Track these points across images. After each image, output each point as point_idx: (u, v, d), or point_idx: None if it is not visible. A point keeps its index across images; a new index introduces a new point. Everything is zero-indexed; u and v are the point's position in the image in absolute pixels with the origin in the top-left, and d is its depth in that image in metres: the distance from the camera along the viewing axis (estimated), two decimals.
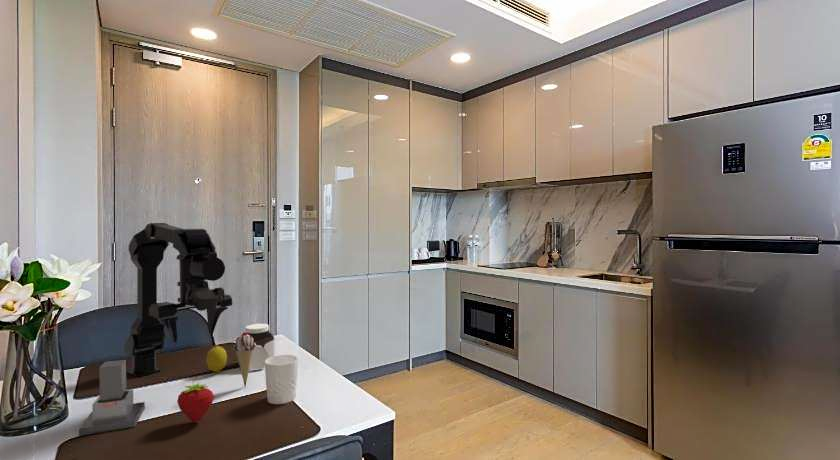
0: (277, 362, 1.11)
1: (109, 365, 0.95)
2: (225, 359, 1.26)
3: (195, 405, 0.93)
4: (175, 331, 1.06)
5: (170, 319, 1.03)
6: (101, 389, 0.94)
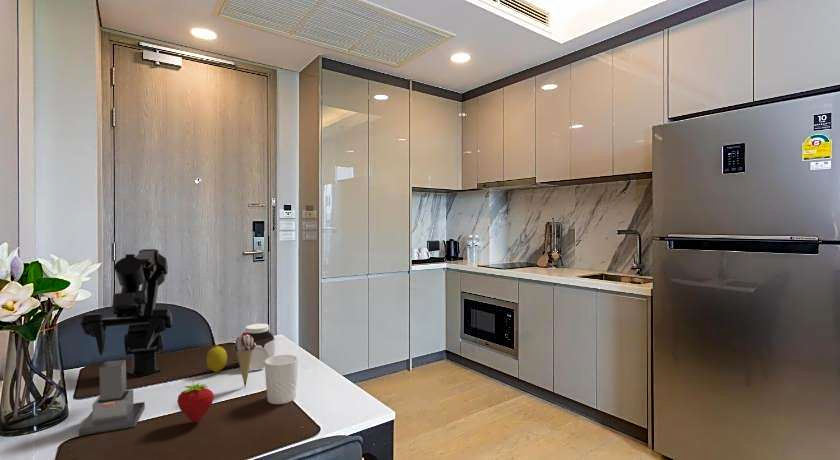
0: (277, 362, 1.11)
1: (109, 365, 0.95)
2: (225, 359, 1.26)
3: (195, 405, 0.93)
4: (100, 340, 1.03)
5: (92, 325, 1.03)
6: (101, 389, 0.94)
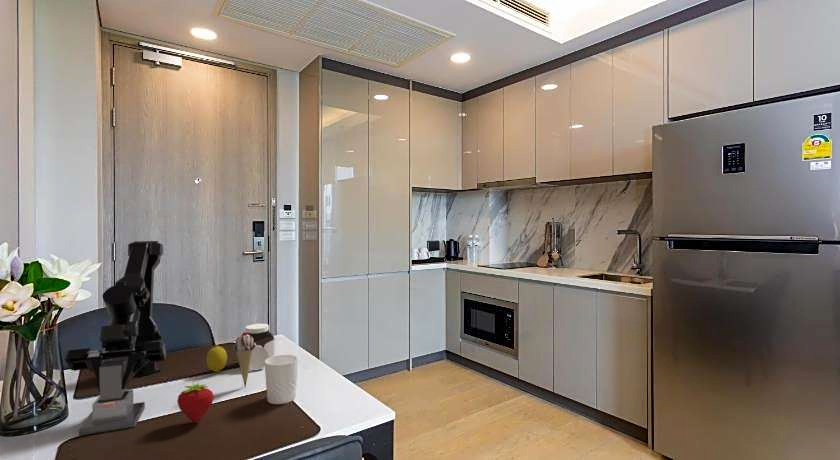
0: (277, 362, 1.11)
1: (109, 365, 0.95)
2: (225, 359, 1.26)
3: (195, 405, 0.93)
4: (99, 376, 0.95)
5: (90, 359, 0.96)
6: (101, 389, 0.94)
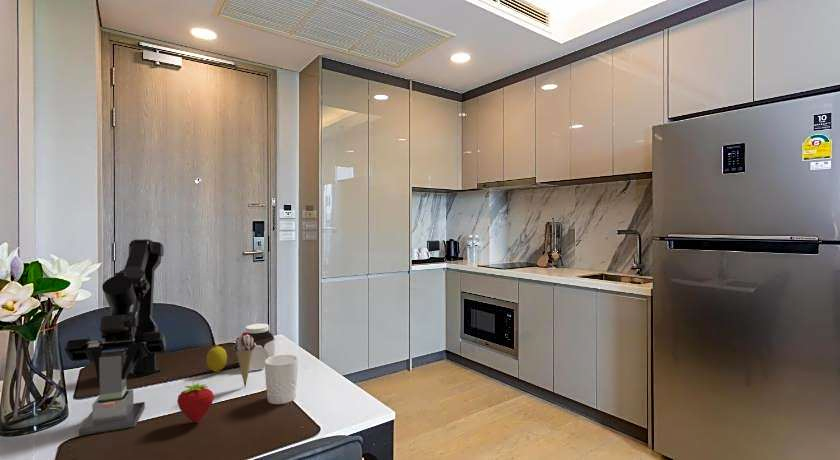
0: (277, 362, 1.11)
1: (109, 355, 0.95)
2: (225, 359, 1.26)
3: (195, 405, 0.93)
4: None
5: (90, 349, 0.96)
6: (101, 379, 0.94)
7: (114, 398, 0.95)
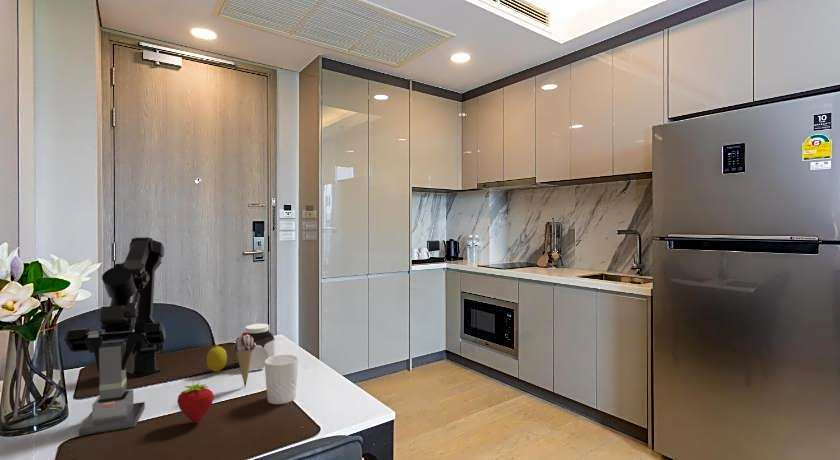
0: (277, 362, 1.11)
1: (109, 346, 0.95)
2: (225, 359, 1.26)
3: (195, 405, 0.93)
4: None
5: (90, 340, 0.96)
6: (101, 370, 0.94)
7: (114, 388, 0.95)
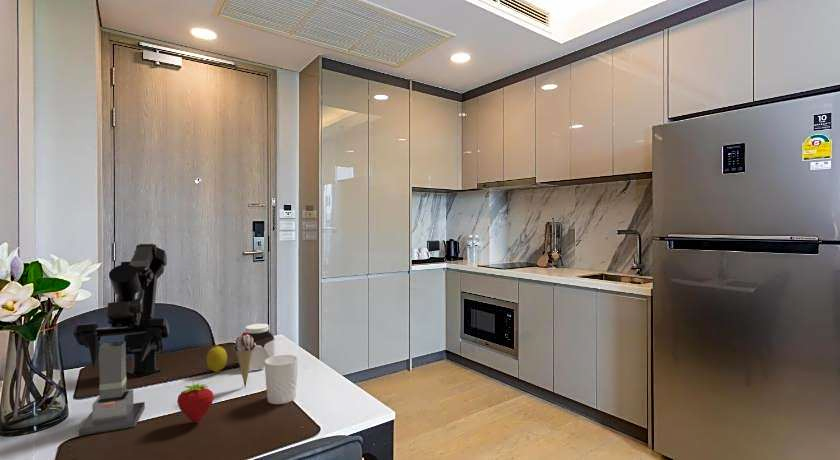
0: (277, 362, 1.11)
1: (109, 346, 0.95)
2: (225, 359, 1.26)
3: (195, 405, 0.93)
4: (93, 351, 0.99)
5: (85, 335, 1.00)
6: (101, 369, 0.94)
7: (114, 388, 0.95)
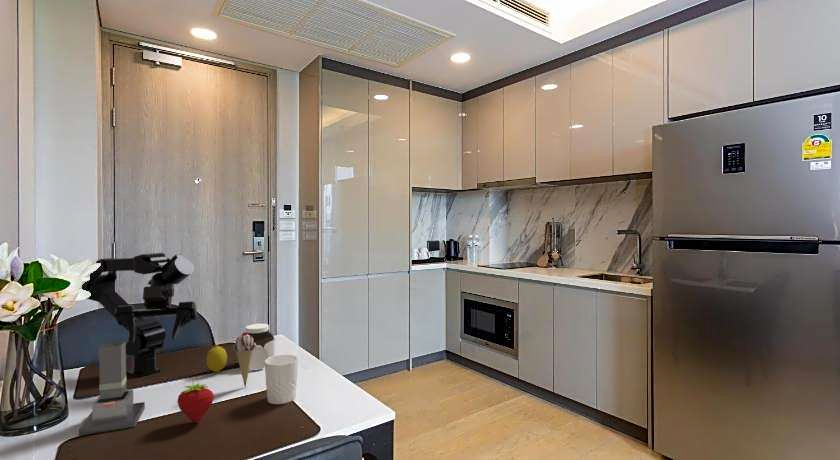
0: (277, 362, 1.11)
1: (109, 346, 0.95)
2: (225, 359, 1.26)
3: (195, 405, 0.93)
4: (131, 330, 1.12)
5: (124, 315, 1.12)
6: (101, 369, 0.94)
7: (114, 388, 0.95)
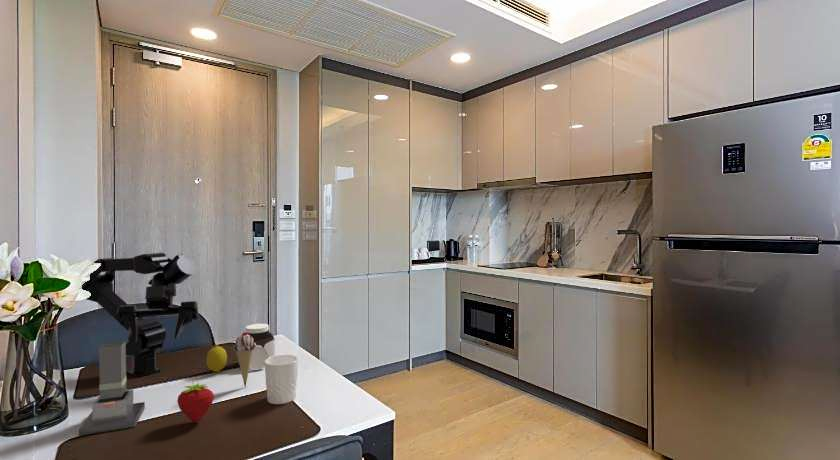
0: (277, 362, 1.11)
1: (109, 346, 0.95)
2: (225, 359, 1.26)
3: (195, 405, 0.93)
4: (134, 329, 1.12)
5: (127, 315, 1.12)
6: (101, 369, 0.94)
7: (114, 388, 0.95)
